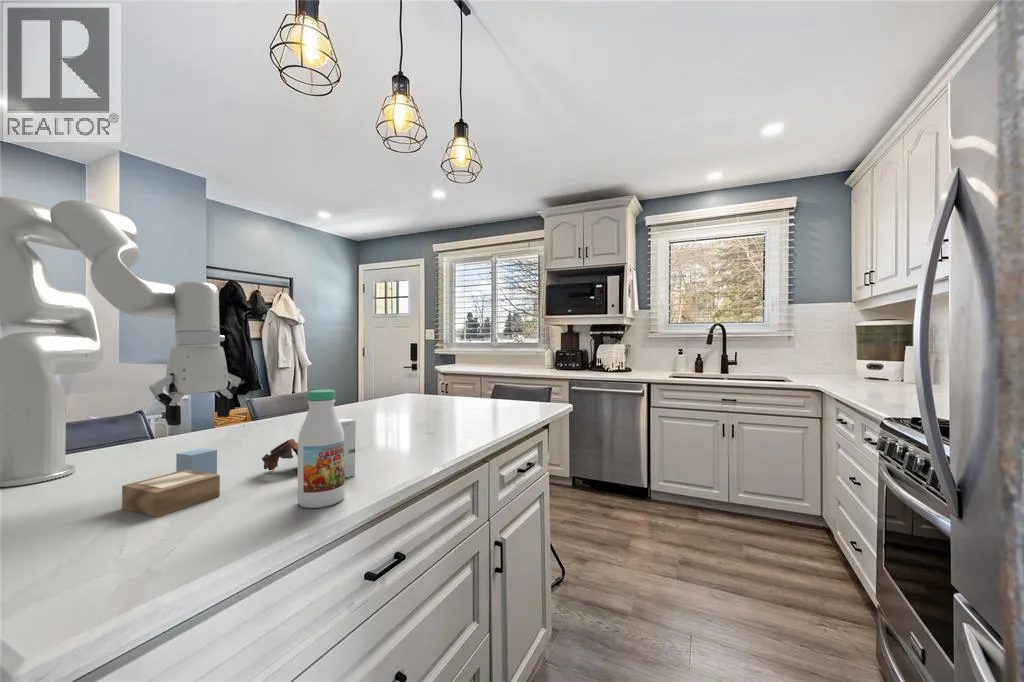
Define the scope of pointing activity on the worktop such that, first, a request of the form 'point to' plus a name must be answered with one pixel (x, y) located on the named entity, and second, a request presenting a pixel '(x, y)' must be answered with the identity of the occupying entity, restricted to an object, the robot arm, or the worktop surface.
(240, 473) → the worktop surface
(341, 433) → the milk bottle
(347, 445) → the skincare box
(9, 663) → the worktop surface
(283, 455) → the brown segmented ring
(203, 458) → the slate block
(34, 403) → the robot arm
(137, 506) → the walnut plinth
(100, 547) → the worktop surface
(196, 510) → the worktop surface
